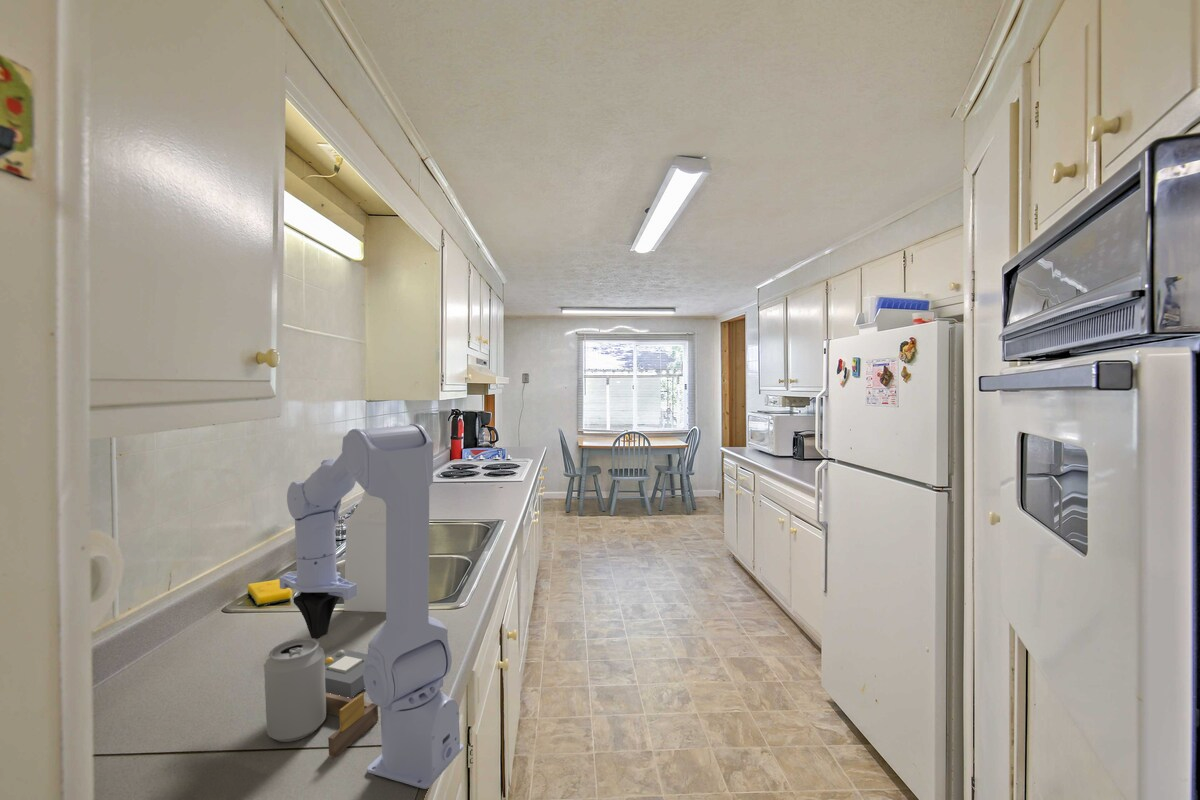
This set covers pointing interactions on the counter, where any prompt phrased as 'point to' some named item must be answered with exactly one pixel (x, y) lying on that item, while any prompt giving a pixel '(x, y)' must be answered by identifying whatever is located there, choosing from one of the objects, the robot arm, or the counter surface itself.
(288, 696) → the can
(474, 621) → the counter surface
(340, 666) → the block
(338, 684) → the panel
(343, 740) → the lockout bracket
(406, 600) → the robot arm
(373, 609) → the milk
